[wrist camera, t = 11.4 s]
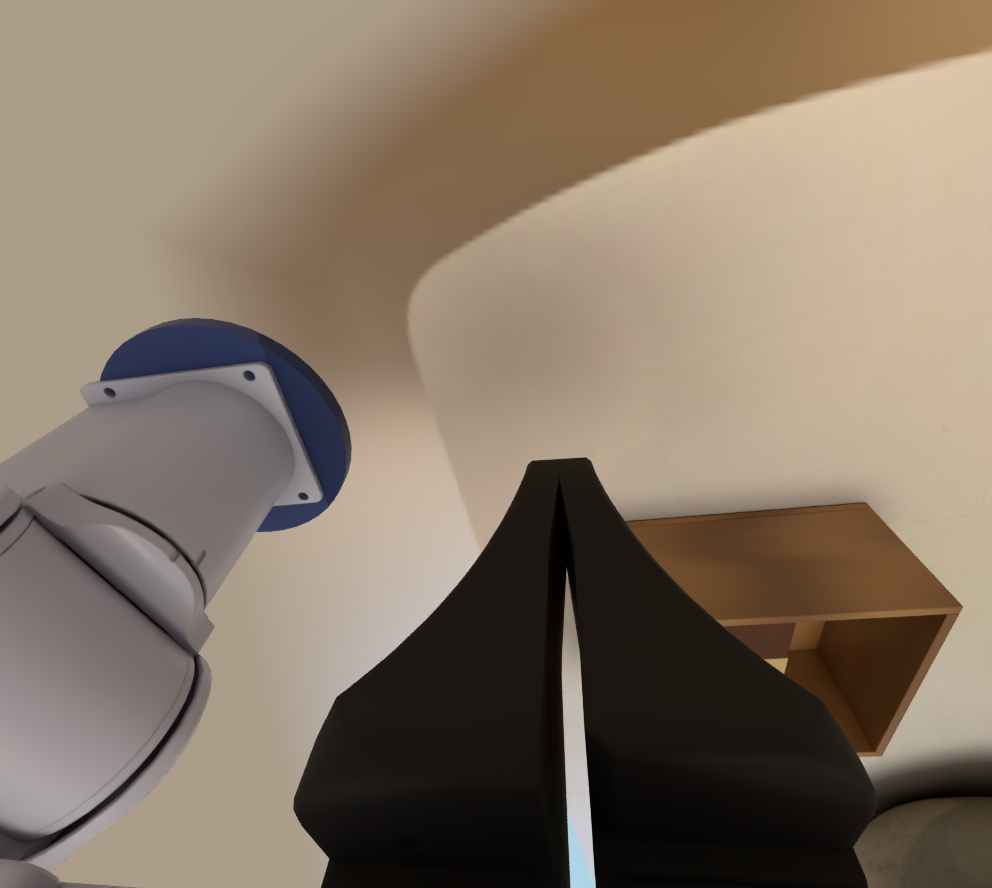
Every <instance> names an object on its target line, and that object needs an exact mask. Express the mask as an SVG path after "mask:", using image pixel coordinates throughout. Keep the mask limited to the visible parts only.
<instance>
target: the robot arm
mask: <svg viewBox="0 0 992 888" xmlns="http://www.w3.org/2000/svg"><path fill="white" fill-rule="evenodd" d="M247 370H248V371H251V372H253V373H254V375H255V377H251V376H250V375H249V374H248V371H247ZM110 388H111V389H113V390H114V392H115V393H114V392H112V391H111V389H110ZM80 392H81V395H82V397H83V398H84V400H85V401H86V402H87V404H88V406H89V408H87V409H85V410H84V411H82V412H81V413H79V414H78V415H76V416H75V417H73V418H71V419H70V420H68V421H67V422H65V423H63V424H62V425H60V426H59V427H57V428H56V429H54V430H53V431H51V432H49V433H48V434H46V435H45V436H43V437H41V438H40V439H38V440H37V441H35V442H34V443H32V444H31V445H29V446H27V447H26V448H24V449H23V450H21V451H20V452H18V453H16V454H15V455H14V456H12V457H10V458H9V459H7V460H5V461H4V462H2V463H1V464H0V888H133V887H120V886H107V885H93V884H80V883H66V882H59V879H58V877H56V876H55V875H54V874H52V872H53V871H55V870H56V869H57V868H58V867H59V866H60V865H61V864H62V863H63V862H64V861H65V860H66V859H68V858H69V857H70V856H71V855H72V854H73V853H75V852H76V851H77V850H78V849H79V848H80V847H82V846H83V845H84V844H85V843H86V842H88V841H89V840H90V839H92V838H93V837H95V836H96V835H97V834H99V833H100V832H101V831H103V830H104V829H106V828H107V827H108V826H110V825H111V824H112V823H114V822H115V821H117V820H118V819H119V818H121V817H122V816H124V815H125V814H126V813H128V812H129V811H130V810H131V809H132V808H134V807H135V806H136V805H137V804H138V803H139V802H140V801H141V800H143V799H144V798H145V797H146V796H147V795H148V794H149V793H150V792H151V791H152V790H153V789H154V788H155V786H157V784H158V783H159V782H160V781H161V780H162V779H163V778H164V776H165V775H166V774H167V773H168V772H169V770H170V769H171V768H172V767H173V765H174V764H175V763H176V761H177V760H178V759H179V757H180V756H181V754H182V753H183V751H184V750H185V748H186V747H187V745H188V744H189V742H190V740H191V738H192V737H193V735H194V733H195V731H196V729H197V727H198V724H199V722H200V719H201V717H202V714H203V712H204V709H205V707H206V704H207V701H208V698H209V694H210V690H211V681H212V676H211V669H210V667H209V665H208V663H207V661H206V660H205V659H204V658H203V657H202V656H200V655H199V654H198V653H199V652H200V650H201V648H202V647H203V645H204V644H205V642H206V640H207V639H208V637H209V635H210V634H211V632H212V631H213V629H214V627H215V626H214V624H213V623H212V622H211V621H210V620H209V619H208V617H207V615H206V614H205V611H204V610H205V608H206V607H207V606H208V604H209V603H210V601H211V600H212V598H213V597H214V595H215V593H216V592H217V591H218V589H219V587H220V586H221V584H222V583H223V581H224V580H225V578H226V577H227V575H228V574H229V572H230V571H231V569H232V568H233V566H234V565H235V563H236V562H237V560H238V559H239V557H240V556H241V554H242V553H243V551H244V549H245V548H246V546H247V545H248V543H249V542H250V540H251V539H252V537H253V535H254V534H255V533H256V531H257V530H258V528H259V527H260V525H261V524H262V522H263V521H264V519H265V518H266V516H267V515H268V513H269V512H270V510H271V509H272V507H273V506H281V505H292V504H303V503H315V502H319V501H320V500H321V499H322V497H323V494H324V492H323V489H322V486H321V484H320V482H319V479H318V477H317V474H316V472H315V470H314V467H313V465H312V462H311V460H310V458H309V455H308V453H307V450H306V448H305V446H304V443H303V441H302V438H301V436H300V433H299V431H298V429H297V426H296V424H295V421H294V419H293V417H292V414H291V412H290V409H289V407H288V405H287V402H286V400H285V397H284V395H283V393H282V390H281V388H280V385H279V383H278V381H277V378H276V376H275V373H274V371H273V369H272V368H271V366H270V365H268V364H267V363H265V362H262V361H257V362H249V363H241V364H233V365H225V366H217V367H209V368H201V369H193V370H185V371H177V372H169V373H161V374H153V375H145V376H137V377H129V378H120V379H112V380H104V381H96V382H89V383H87V384H85V385H83V386H82V387H81V389H80ZM301 492H302V493H305V494H307V495H308V496H306V495H303V494H302V493H301ZM566 568H567V572H568V578H569V585H570V591H571V598H572V604H573V611H574V617H575V624H576V630H577V637H578V643H579V649H580V660H581V677H582V694H583V711H584V729H585V742H586V755H587V768H588V781H589V795H590V808H591V823H592V838H593V854H594V869H595V880H596V888H868V883H867V879H866V877H865V874H864V872H863V869H862V867H861V865H860V862H859V860H858V858H857V855H856V853H855V850H854V848H853V847H854V845H855V844H856V842H857V840H858V839H859V837H860V836H861V834H862V833H863V831H864V830H865V828H866V827H867V825H868V824H869V822H870V821H871V819H872V817H873V815H874V812H875V809H876V806H877V803H878V798H877V796H876V793H875V790H874V788H873V785H872V783H871V781H870V779H869V777H868V774H867V772H866V770H865V768H864V766H863V764H862V762H861V761H860V759H859V757H858V755H857V753H856V752H855V750H854V749H853V747H852V745H851V744H850V742H849V741H848V739H847V737H846V736H845V734H844V733H843V731H842V729H841V728H840V726H839V725H838V723H837V722H836V720H835V719H834V717H833V716H832V714H831V713H830V711H829V710H828V708H827V707H826V705H825V704H824V702H823V701H822V700H820V699H819V698H817V697H816V696H814V695H813V694H812V693H810V692H809V691H807V690H806V689H805V688H803V687H802V686H800V685H799V684H797V683H796V682H795V681H793V680H792V679H790V678H789V677H787V676H786V675H785V674H783V673H782V672H780V671H779V670H778V669H776V668H775V667H773V666H772V665H771V664H769V663H768V662H767V661H765V660H764V659H763V658H761V657H760V656H759V655H758V654H756V653H755V652H754V651H753V650H751V649H750V648H749V647H748V646H746V645H745V644H744V643H743V642H741V641H740V640H739V639H738V638H736V637H735V636H734V635H732V634H731V633H730V632H729V631H728V630H727V629H726V628H725V627H723V626H722V625H721V624H720V623H719V622H718V621H717V620H716V619H714V618H713V617H712V616H711V615H710V614H709V613H708V612H707V611H705V610H704V609H703V608H702V607H701V606H700V605H699V604H698V603H696V602H695V601H694V600H693V599H692V598H691V597H690V596H689V595H688V594H687V593H686V592H685V591H684V590H683V589H682V588H681V587H680V586H679V585H678V584H677V583H676V582H675V581H674V580H673V579H672V578H671V577H670V576H669V575H668V574H667V572H666V571H665V570H664V569H663V568H662V567H661V566H660V565H659V564H658V563H657V562H656V560H655V559H654V558H653V557H652V556H651V555H650V553H649V552H648V551H647V550H646V549H645V547H644V546H643V545H642V544H641V542H640V541H639V540H638V538H637V537H636V536H635V535H634V533H633V532H632V531H631V529H630V528H629V527H628V525H627V524H626V522H625V521H624V520H623V518H622V517H621V515H620V514H619V512H618V511H617V509H616V508H615V506H614V505H613V503H612V502H611V500H610V498H609V497H608V495H607V493H606V492H605V490H604V488H603V486H602V485H601V483H600V481H599V479H598V477H597V475H596V473H595V470H594V468H593V465H592V462H591V461H590V460H589V459H588V458H586V457H585V458H569V459H553V460H537V461H531V462H530V463H529V464H528V466H527V469H526V472H525V475H524V477H523V480H522V482H521V485H520V487H519V489H518V491H517V493H516V495H515V497H514V500H513V501H512V503H511V505H510V507H509V509H508V511H507V513H506V514H505V516H504V518H503V520H502V522H501V523H500V525H499V527H498V528H497V530H496V531H495V533H494V535H493V536H492V538H491V539H490V541H489V542H488V544H487V546H486V547H485V549H484V550H483V552H482V553H481V554H480V556H479V557H478V559H477V560H476V562H475V563H474V564H473V566H472V567H471V568H470V570H469V571H468V572H467V573H466V575H465V576H464V577H463V579H462V580H461V581H460V582H459V583H458V585H457V586H456V587H455V588H454V589H453V590H452V592H451V593H450V594H449V595H448V596H447V597H446V599H445V600H444V601H443V602H442V603H441V604H440V606H438V608H437V609H436V610H435V611H434V612H433V613H432V614H431V615H430V616H429V617H428V618H427V619H426V620H425V621H424V622H423V623H422V624H421V625H420V626H419V627H418V628H417V629H416V630H415V631H414V632H413V633H412V634H411V635H410V636H408V637H407V638H406V639H405V640H404V641H403V642H402V643H401V644H400V645H399V646H398V647H397V648H396V649H395V650H394V651H393V652H392V653H391V654H389V655H388V656H387V657H386V658H385V659H384V660H382V661H381V662H380V663H379V664H378V665H376V666H375V667H374V668H373V669H372V670H370V671H369V672H368V673H367V674H365V675H364V676H363V677H362V678H360V679H359V680H358V681H357V682H355V683H354V684H353V685H352V686H351V687H350V688H348V689H347V690H346V691H344V692H343V693H341V694H340V695H339V696H338V697H337V698H336V699H335V702H334V704H333V706H332V708H331V710H330V712H329V714H328V716H327V718H326V720H325V722H324V723H323V726H322V728H321V730H320V732H319V734H318V736H317V739H316V741H315V743H314V747H313V749H312V752H311V754H310V757H309V760H308V762H307V765H306V768H305V770H304V773H303V776H302V778H301V781H300V784H299V787H298V789H297V792H296V794H295V797H294V808H293V809H294V812H295V814H296V816H297V818H298V820H299V822H300V823H301V825H302V827H303V828H304V829H305V830H306V831H307V833H308V834H309V835H310V836H311V837H312V839H313V840H314V841H315V842H316V843H317V844H318V846H319V847H320V848H321V849H322V850H323V852H324V853H325V854H326V855H327V856H328V857H329V862H328V866H327V869H326V873H325V876H324V879H323V883H322V886H321V888H570V870H569V847H568V826H567V825H568V824H567V801H566V777H565V752H564V727H563V701H562V643H563V625H564V607H565V588H566Z"/></svg>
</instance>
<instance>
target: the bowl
mask: <svg viewBox="0 0 992 888" xmlns="http://www.w3.org/2000/svg"><path fill="white" fill-rule="evenodd" d="M854 850H855V853H856V855H857V858H858V860H859V862H860V865H861V867H862V869H863V872H864V874H865V877H866V879H867V883H868V888H992V797H947V798H934V799H925V800H919V801H915V802H911V803H907V804H903V805H899V806H896V807H894V808H891V809H889V810H887V811H885V812H884V813H882V814H880V815H879V816H878V817H876V818H875V819H874V820H873V821H871V822H870V823H869V825H868V826H867V827H866V828H865V830H864V831H863V833H862V834H861V836H860V837H859V839H858V840H857V842H856V844H855V846H854Z"/></svg>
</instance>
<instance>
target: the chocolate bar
mask: <svg viewBox="0 0 992 888" xmlns="http://www.w3.org/2000/svg"><path fill="white" fill-rule="evenodd" d="M795 626H796V622H794V623H776V624H758V625H740V626H723V627H725V628H726V629H727V630H728V631H729V632H730V633H731V634H732V635H734V636H735V637H736V638H738V639H739V640H740V641H741V642H743V643H744V644H745V645H746V646H748V647H749V648H750V649H751V650H753V651H754V652H755V653H756V654H758V655H759V656H760V657H761V658H763V659H764V660H765V661H767V662H768V663H769V664H771V665H772V666H773V667H775V668H776V669H778V670H779V671H780V672H782V673H783V674H784V672H785V669H786V665H787V661H788V657H787V655H788V651H789V648H790V644H791V640H792V637H793V633H794V629H795Z"/></svg>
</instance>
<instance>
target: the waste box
mask: <svg viewBox="0 0 992 888" xmlns="http://www.w3.org/2000/svg"><path fill="white" fill-rule="evenodd" d="M626 524H627V525H628V527H629V528H630V529H631V531H632V532H633V533H634V535H635V536H636V537H637V538H638V540H639V541H640V542H641V544H642V545H643V546H644V547H645V549H646V550H647V551H648V552H649V553H650V555H651V556H652V557H653V558H654V559H655V560H656V562H657V563H658V564H659V565H660V566H661V567H662V568H663V569H664V570H665V571H666V572H667V574H668V575H669V576H670V577H671V578H672V579H673V580H674V581H675V582H676V583H677V584H678V585H679V586H680V587H681V588H682V589H683V590H684V591H685V592H686V593H687V594H688V595H689V596H690V597H691V598H692V599H693V600H694V601H695V602H696V603H698V604H699V605H700V606H701V607H702V608H703V609H704V610H705V611H707V612H708V613H709V614H710V615H711V616H712V617H713V618H714V619H716V620H717V621H718V622H719V623H720V624H721V625H722V626H740V625H758V624H776V623H794V622H796V626H795V629H794V633H793V637H792V640H791V644H790V648H789V651H788V655H787V657H788V661H787V665H786V669H785V672H784V674H785V675H786V676H787V677H789V678H790V679H792V680H793V681H795V682H796V683H797V684H799V685H800V686H802V687H803V688H805V689H806V690H807V691H809V692H810V693H812V694H813V695H814V696H816V697H817V698H819V699H820V700H822V701H823V702H824V704H825V705H826V707H827V708H828V710H829V711H830V713H831V714H832V716H833V717H834V719H835V720H836V722H837V723H838V725H839V726H840V728H841V729H842V731H843V733H844V734H845V736H846V737H847V739H848V741H849V742H850V744H851V745H852V747H853V749H854V750H855V752H856V753H857V755H858V757H871V756H882V755H883V752H884V751H885V749H886V747H887V745H888V744H889V742H890V740H891V738H892V736H893V734H894V733H895V731H896V729H897V727H898V725H899V723H900V722H901V720H902V718H903V716H904V714H905V712H906V711H907V709H908V707H909V705H910V703H911V701H912V700H913V698H914V696H915V694H916V692H917V690H918V689H919V687H920V685H921V683H922V681H923V679H924V678H925V676H926V674H927V672H928V670H929V668H930V667H931V665H932V663H933V661H934V659H935V657H936V656H937V654H938V652H939V650H940V648H941V646H942V645H943V643H944V641H945V639H946V637H947V635H948V634H949V632H950V630H951V628H952V626H953V624H954V623H955V621H956V619H957V617H958V615H959V613H960V612H961V610H962V608H963V606H962V605H961V604H960V603H959V602H958V601H957V600H956V599H955V597H954V596H953V595H952V594H951V593H950V592H949V591H948V590H947V589H946V588H945V587H944V586H943V585H942V584H941V582H940V581H939V580H938V579H937V578H936V577H935V576H934V575H933V574H932V573H931V572H930V571H929V570H928V569H927V568H926V566H925V565H924V564H923V563H922V562H921V561H920V560H919V559H918V558H917V557H916V556H915V555H914V554H913V553H912V551H911V550H910V549H909V548H908V547H907V546H906V545H905V544H904V543H903V542H902V541H901V540H900V539H899V538H898V537H897V535H896V534H895V533H894V532H893V531H892V530H891V529H890V528H889V527H888V526H887V525H886V524H885V523H884V522H883V520H882V519H881V518H880V517H879V516H878V515H877V514H876V513H875V512H874V511H873V510H872V509H871V508H870V507H869V505H868V504H867V503H860V504H847V505H835V506H822V507H809V508H797V509H784V510H771V511H759V512H746V513H733V514H721V515H708V516H695V517H683V518H670V519H657V520H645V521H632V522H626Z"/></svg>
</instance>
